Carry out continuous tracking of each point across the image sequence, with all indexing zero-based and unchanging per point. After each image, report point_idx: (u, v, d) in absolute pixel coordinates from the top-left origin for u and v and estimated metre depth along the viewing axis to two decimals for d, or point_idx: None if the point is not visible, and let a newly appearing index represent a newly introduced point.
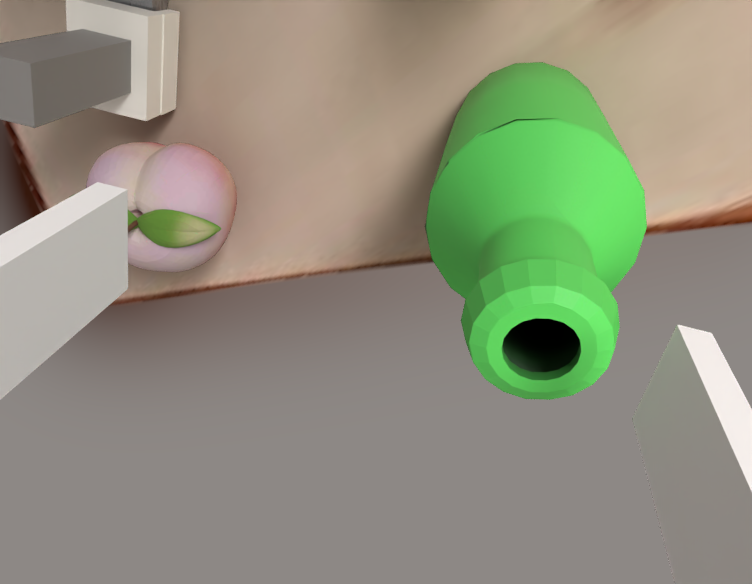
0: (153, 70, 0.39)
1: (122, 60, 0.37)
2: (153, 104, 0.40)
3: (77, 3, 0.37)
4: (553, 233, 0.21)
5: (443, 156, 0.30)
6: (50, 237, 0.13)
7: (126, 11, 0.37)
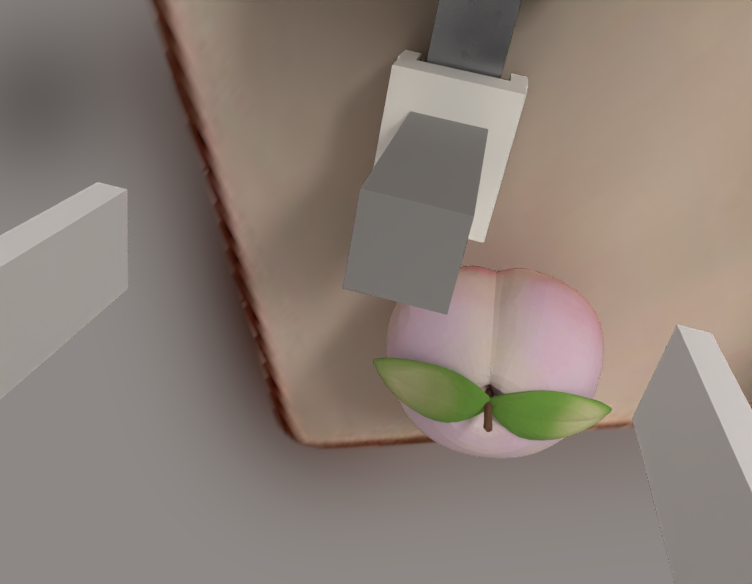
0: None
1: None
2: None
3: (410, 74, 0.24)
4: None
5: None
6: (50, 237, 0.13)
7: (489, 86, 0.24)
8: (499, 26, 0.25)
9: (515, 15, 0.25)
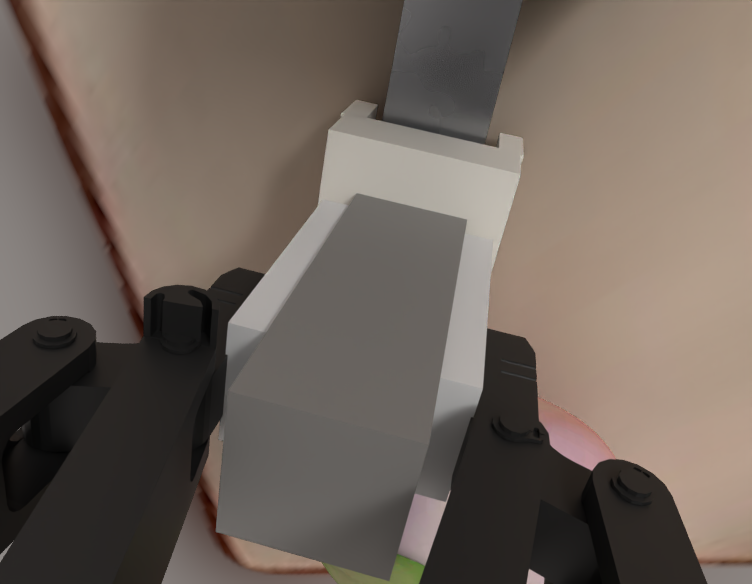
0: None
1: None
2: None
3: (354, 142, 0.17)
4: None
5: None
6: None
7: (467, 160, 0.17)
8: (482, 72, 0.18)
9: (505, 58, 0.17)
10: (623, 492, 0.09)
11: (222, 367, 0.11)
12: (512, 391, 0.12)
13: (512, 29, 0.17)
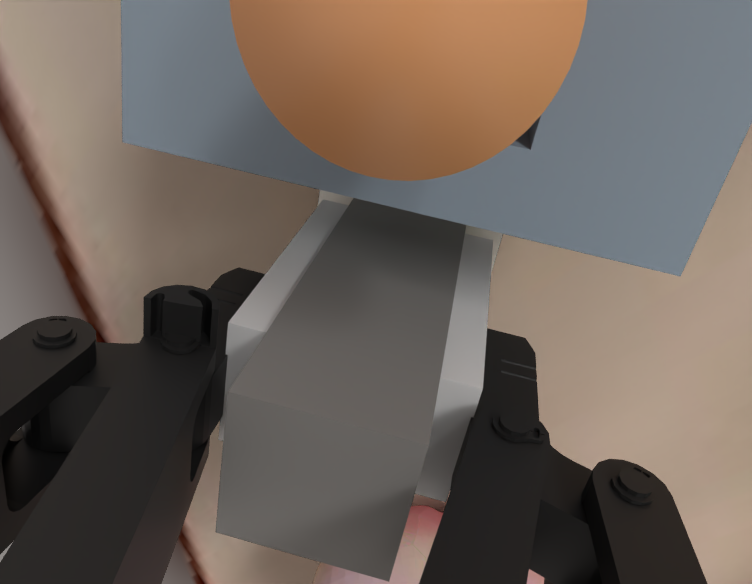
0: None
1: None
2: None
3: None
4: None
5: None
6: None
7: None
8: None
9: None
10: (622, 492, 0.09)
11: (222, 367, 0.11)
12: (512, 391, 0.12)
13: None
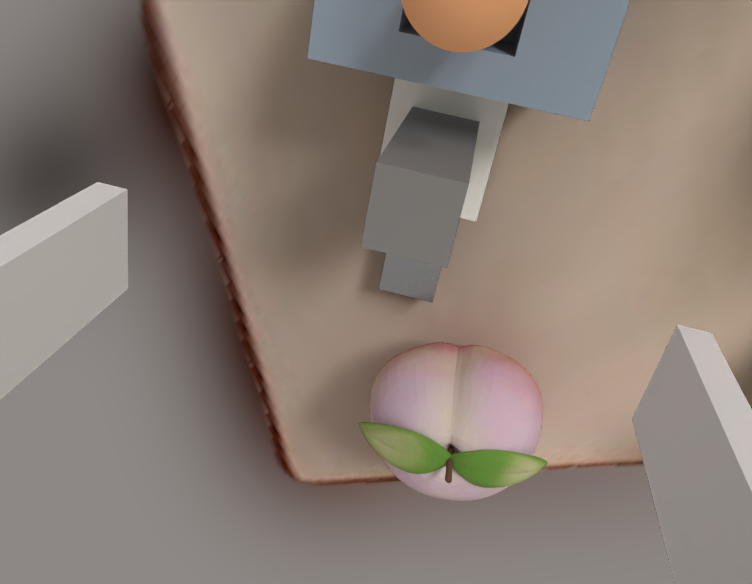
0: None
1: None
2: None
3: None
4: None
5: None
6: (50, 237, 0.13)
7: None
8: None
9: None
10: None
11: None
12: None
13: None
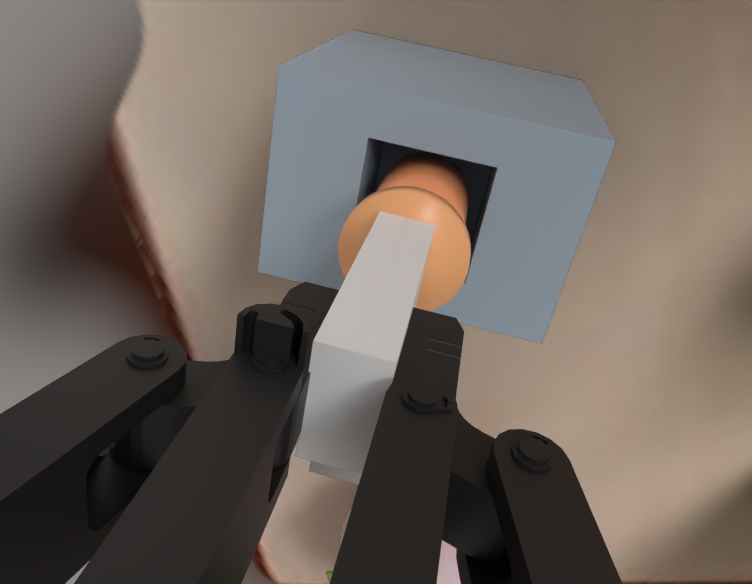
0: None
1: None
2: None
3: None
4: None
5: None
6: (389, 265, 0.14)
7: None
8: None
9: None
10: (523, 461, 0.10)
11: (306, 385, 0.11)
12: (433, 367, 0.12)
13: None
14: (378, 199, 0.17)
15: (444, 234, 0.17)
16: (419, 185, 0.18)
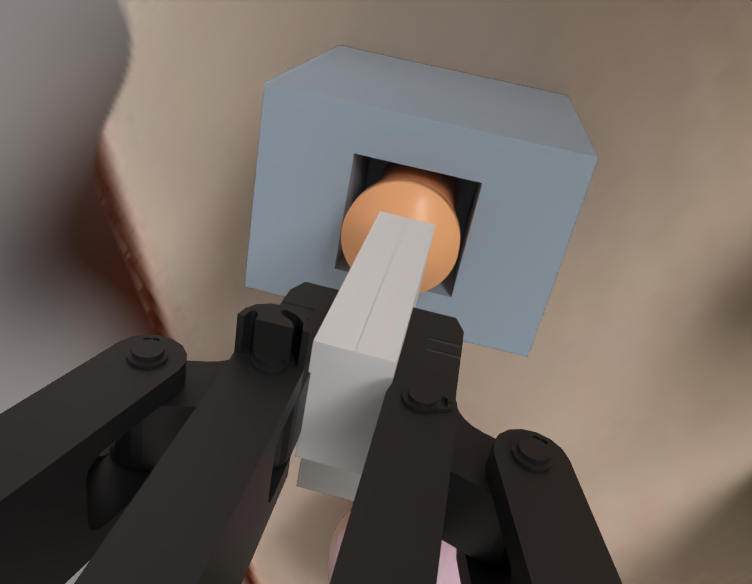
0: None
1: None
2: None
3: None
4: None
5: None
6: (389, 265, 0.14)
7: None
8: None
9: None
10: (523, 461, 0.10)
11: (306, 385, 0.11)
12: (433, 367, 0.12)
13: None
14: (377, 190, 0.19)
15: (437, 221, 0.19)
16: (414, 179, 0.20)
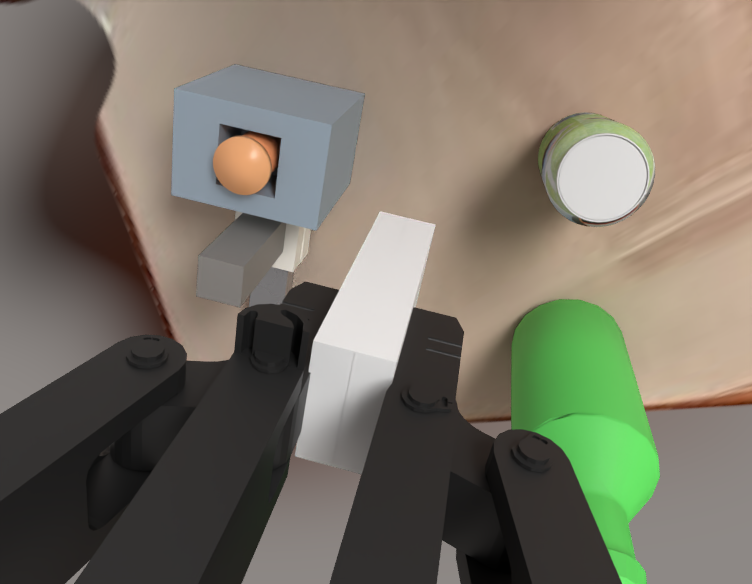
0: (300, 234, 0.50)
1: (282, 232, 0.48)
2: (297, 258, 0.51)
3: None
4: (604, 513, 0.35)
5: (517, 401, 0.44)
6: (389, 265, 0.14)
7: None
8: None
9: None
10: (524, 461, 0.10)
11: (306, 385, 0.11)
12: (433, 367, 0.12)
13: None
14: (227, 140, 0.39)
15: (257, 156, 0.40)
16: (251, 136, 0.41)
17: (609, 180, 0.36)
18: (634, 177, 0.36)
